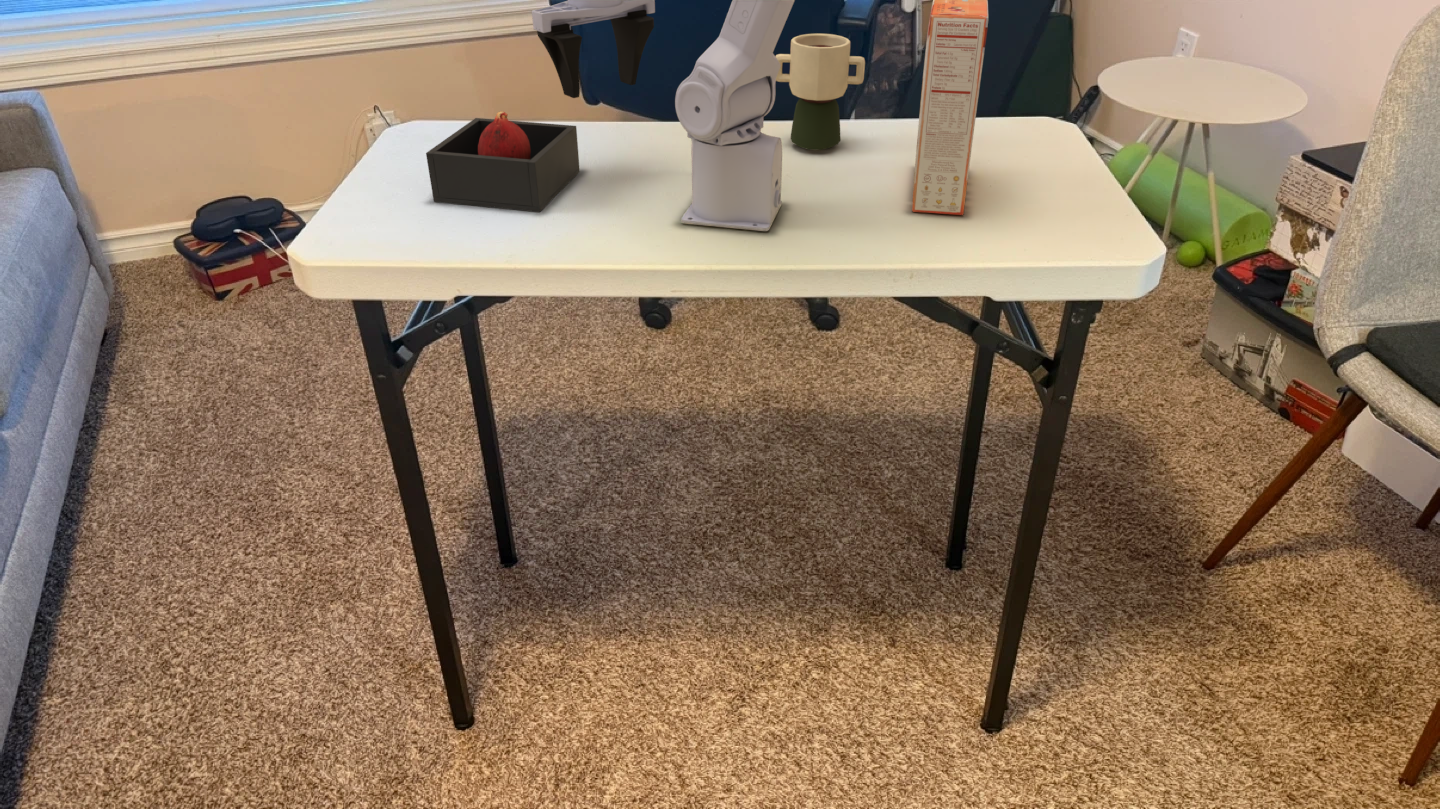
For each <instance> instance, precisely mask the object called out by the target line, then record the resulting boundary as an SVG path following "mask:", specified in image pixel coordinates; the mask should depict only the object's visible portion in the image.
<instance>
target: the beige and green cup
mask: <svg viewBox="0 0 1440 809" xmlns="http://www.w3.org/2000/svg"><path fill="white" fill-rule="evenodd" d="M775 57H776V58H777V60H778V61H779V63H780V66H781V67H780V69H779V72H778V74H777V77H776V82H779V83H788V86H789V89H790V92H791V94H792V95H793V96H795V97H797V98H798V99H797V102H796V104H795V108H794V114H793V119H792V123H791V131H790V138H789V139H790V141H791V143H792V144H794V145H795V146H797V147H799V148H802V149H806V150H813V151H821V150H826V149H827V150H828V149H831V148H833V147H836V146H837V145H839V143H840V142H841V121H840V120H841V119H840V107H839V104H838V101H837V100H836V99H839V98H842V97H844V95H845V93H846V90H847V89H848V86H849V85H861V84H863V83H864V80H865V71H866V70H865V68H866V60H865V57H863V56H859V55H858V56H856V55H851V40H849V38H847V37H844V36H843V35H837V34H833V33H805V34H799V35H797V36H794V37H792V39H791V40H790V53H778V54H776V55H775ZM783 63H789V73H783ZM850 65H856V70H855V72H856V73H855V75H849V69H850Z"/></svg>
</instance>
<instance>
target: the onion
mask: <svg viewBox="0 0 1440 809" xmlns="http://www.w3.org/2000/svg"><path fill="white" fill-rule="evenodd" d="M511 121H512V120H509V118H508V113H506V112H505V111H504V110H501V111H498V112H497V113H496V114H495V117H494V121H493V122H492V123H490V124H489V125H488V126H487V127H486V128H485V129H484V131H483V132H482V134H481V136H480V139H479V144H478V155H484V156H495V157H507V158H518V159H530V154H531V149H530V143H529V139H528V137H527V135H526V134H525V132H524V131H523V130H522V129H521V128H520V127H519V126H518V125H516V124H515V123H513V122H511Z"/></svg>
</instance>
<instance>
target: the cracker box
mask: <svg viewBox="0 0 1440 809" xmlns="http://www.w3.org/2000/svg"><path fill="white" fill-rule="evenodd" d="M928 20H929V21H928V27H927V35H926V43H925V53H924V62H923V71H922V72H923V73H922V82H921V83H922V84H921V94H920V104H919V116H918V125H917V126H918V127H917V136H916V138H917V139H916V150H915V163H914V174H913V188H912V203H911V204H912V207H911V211H912V212H914V213H925V214H928V213H929V214H940V215H941V214H943V215H957V216H963V215H964V212H965V207H966V206H965V205H966V196H967V190H968V189H967V188H968V180H969V173H970V165H971V156H972V150H973V149H972V148H973V140H974V133H975V125H976V117H977V111H978V104H979V103H978V102H979V95H980V87H981V80H982V74H983V73H982V72H983V65H984V57H985V49H986V43H987V35H988V29H989V27H988V24H989V0H932V2H931V8H930V14H929V19H928Z"/></svg>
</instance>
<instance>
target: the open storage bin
mask: <svg viewBox="0 0 1440 809" xmlns="http://www.w3.org/2000/svg"><path fill="white" fill-rule="evenodd" d="M494 119H495V118H494ZM494 119H493V118H482V117H475V118H473V119H472V120H471V121H469V122H468V123H466V124H465V125H464V126H462V127H461V128H459V129H458V130H457V131H455V132H453V133H452V134H451V135H449V136H448V137H446V138H445V139H443V141H441V142H439V143H438V144H436V145H435V146H434V147H432V148H431V149H429V150H428V151H426V153H425V154H426V155H425V156H426V162H427V168H428V174H429V180H430V187H431V193H432V198H433V202H434V203H444V204H454V205H464V206H474V207H483V208H495V209H505V210H516V211H524V212H536V213H541V211H543V210H544V209H545V208H546V206H548V204H550V203H551V202H552V200H554V199H555V198H556V197H557V196H558V195H559V194H560V193H561V192H562V191H563V190H564V188H565V187H566V186H567V185H569V184H570V183H571V182H572V181H573V180H574V179H575V177H577V175H579V173H580V172H581V170H580V156H579V142H578V131H577V125H569V124H557V123H545V122H533V121H530V122H529V121H519V120H510V121H511V122H513V123H515V124H516V125H518V126H519V127H520V128H521V129H522V130H523V131H524V132H525V134H526V135H527V137H528V139H529V143H530V149H531V154H530V159H518V158H507V157H495V156H484V155H478V144H479V139H480V136H481V134H482V132H483V131H484V129H485V128H486V127H487V126H488V125H489V124H490V123H492V122H493V121H494Z"/></svg>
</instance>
